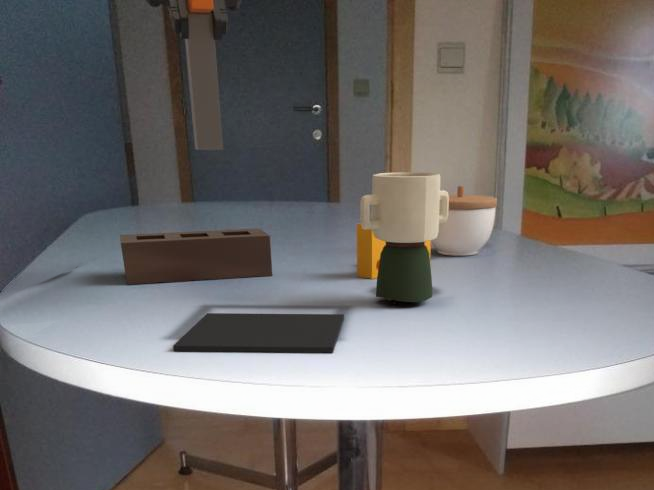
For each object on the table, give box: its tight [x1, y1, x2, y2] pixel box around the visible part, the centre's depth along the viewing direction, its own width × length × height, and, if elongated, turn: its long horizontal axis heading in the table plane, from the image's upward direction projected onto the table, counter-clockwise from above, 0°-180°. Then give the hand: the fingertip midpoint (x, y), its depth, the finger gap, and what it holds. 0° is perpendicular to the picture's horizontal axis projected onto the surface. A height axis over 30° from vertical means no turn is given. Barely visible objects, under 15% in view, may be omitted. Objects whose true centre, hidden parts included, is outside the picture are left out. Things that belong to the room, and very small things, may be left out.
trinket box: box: [431, 185, 498, 257], centre depth 107 cm, size 11×11×9 cm
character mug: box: [359, 171, 450, 305], centre depth 77 cm, size 11×7×13 cm, turn 121°
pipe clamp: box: [356, 222, 432, 280], centre depth 95 cm, size 12×4×6 cm, turn 137°
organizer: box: [119, 228, 273, 286], centre depth 93 cm, size 7×18×5 cm, turn 108°
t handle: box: [184, 0, 224, 151], centre depth 73 cm, size 8×3×14 cm, turn 18°
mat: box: [172, 312, 345, 354], centre depth 68 cm, size 14×12×1 cm
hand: (202, 30), depth 69 cm, fingers closed on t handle, 2 cm apart
